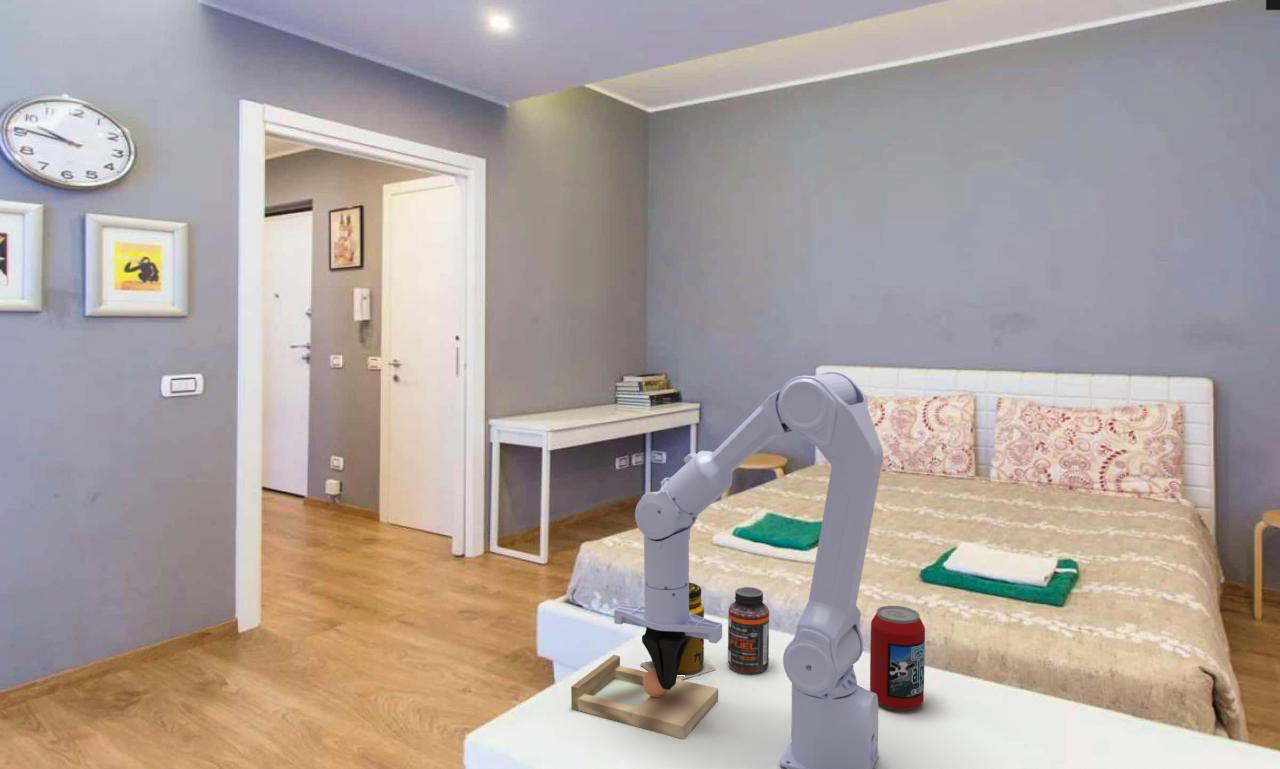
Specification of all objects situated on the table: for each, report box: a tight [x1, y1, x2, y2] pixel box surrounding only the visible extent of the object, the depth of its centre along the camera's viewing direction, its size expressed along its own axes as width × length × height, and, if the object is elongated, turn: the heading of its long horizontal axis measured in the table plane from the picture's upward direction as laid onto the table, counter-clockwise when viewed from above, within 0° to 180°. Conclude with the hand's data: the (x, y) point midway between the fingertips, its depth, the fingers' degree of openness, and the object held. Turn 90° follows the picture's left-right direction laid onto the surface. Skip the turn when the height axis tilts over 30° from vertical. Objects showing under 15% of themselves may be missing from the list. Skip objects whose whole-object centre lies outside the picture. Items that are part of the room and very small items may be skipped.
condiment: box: [640, 581, 717, 680], centre depth 111 cm, size 7×8×12 cm
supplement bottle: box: [727, 586, 770, 675], centre depth 111 cm, size 6×6×11 cm
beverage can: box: [869, 605, 926, 711], centre depth 100 cm, size 7×7×12 cm
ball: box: [643, 668, 667, 697], centre depth 100 cm, size 4×4×4 cm
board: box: [570, 654, 719, 740], centre depth 100 cm, size 16×11×3 cm
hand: (667, 685), depth 99 cm, fingers closed, pressing on ball
